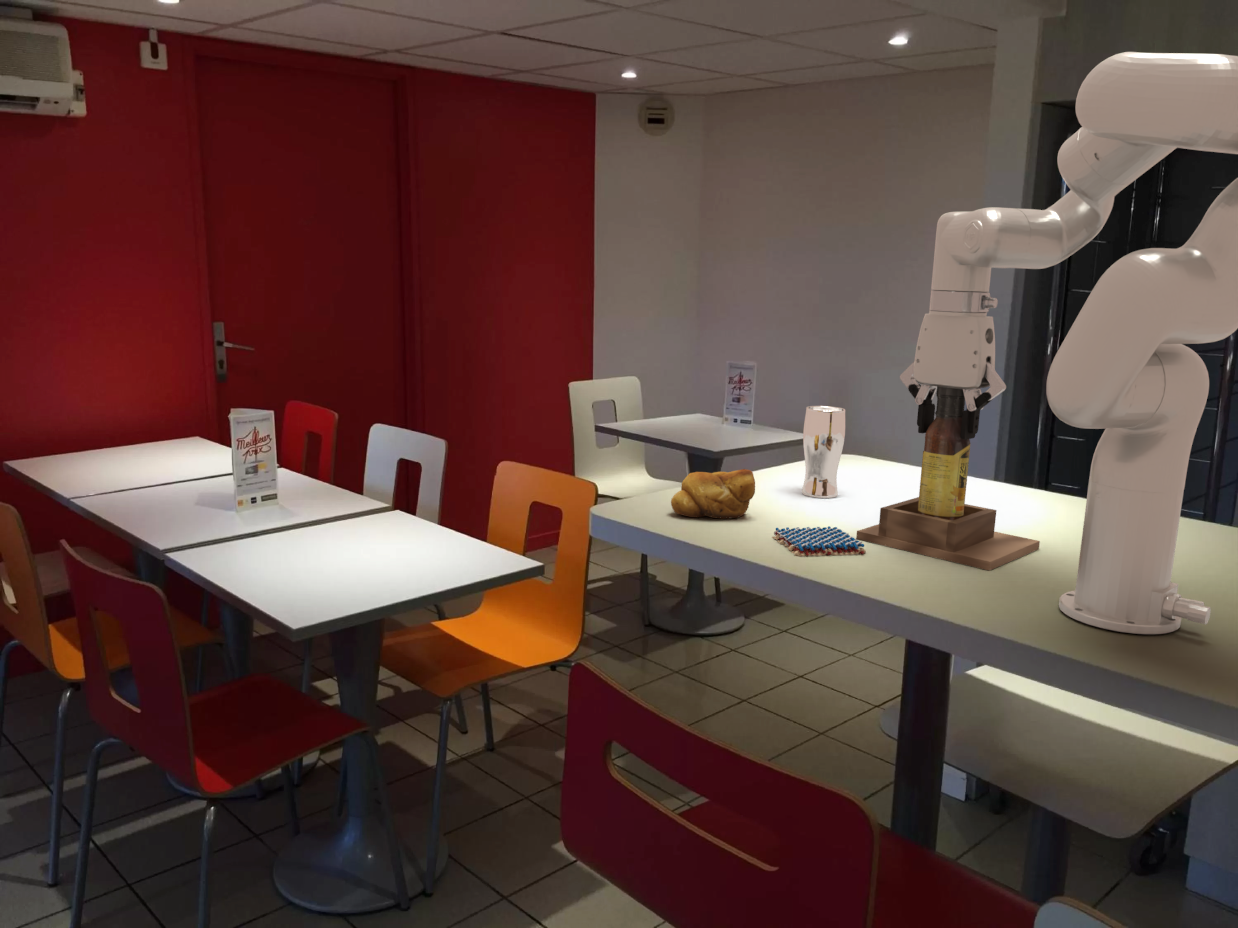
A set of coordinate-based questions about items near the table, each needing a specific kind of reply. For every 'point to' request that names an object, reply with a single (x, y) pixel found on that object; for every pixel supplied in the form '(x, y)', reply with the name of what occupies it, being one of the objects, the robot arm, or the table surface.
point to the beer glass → (822, 449)
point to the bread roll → (715, 494)
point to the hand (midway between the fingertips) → (946, 434)
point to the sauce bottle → (945, 459)
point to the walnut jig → (948, 536)
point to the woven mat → (818, 541)
